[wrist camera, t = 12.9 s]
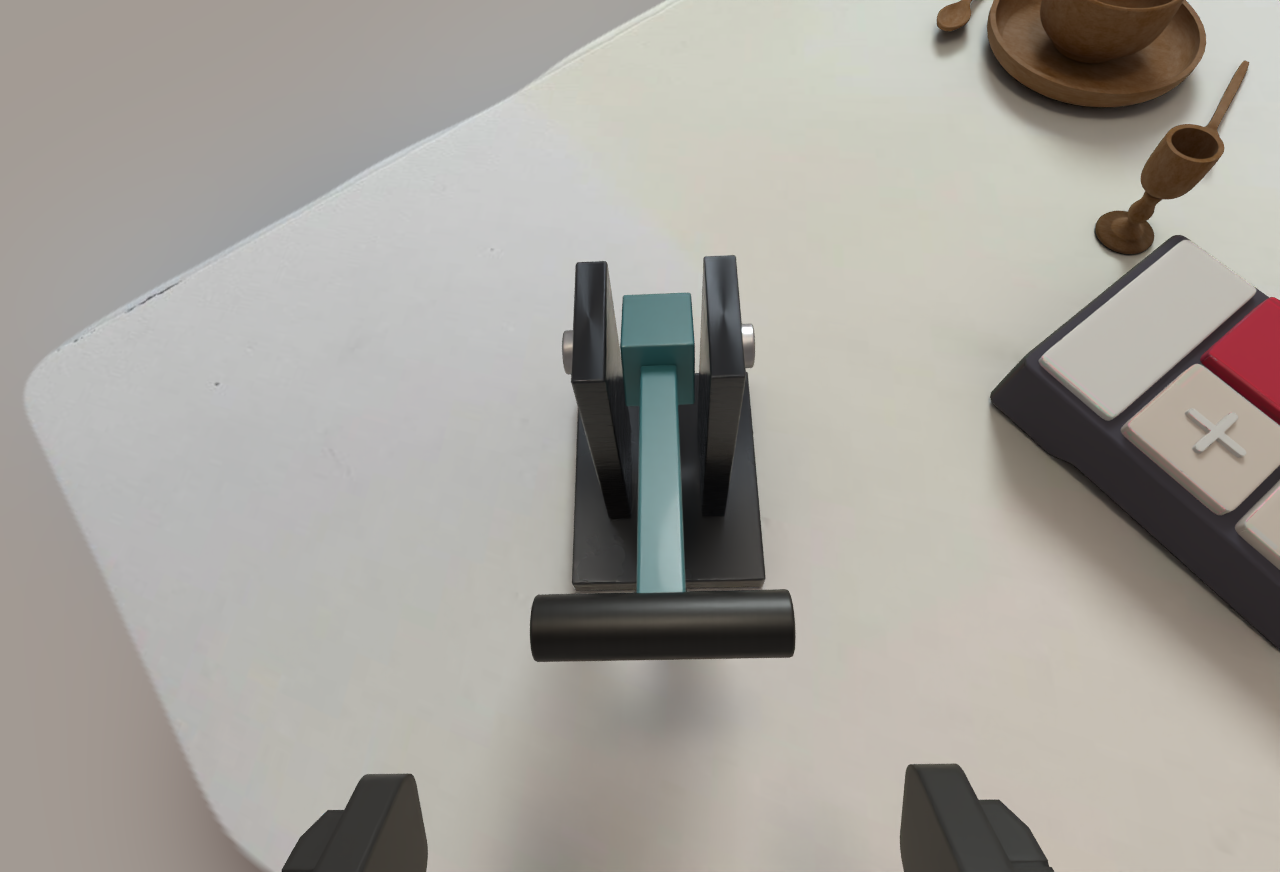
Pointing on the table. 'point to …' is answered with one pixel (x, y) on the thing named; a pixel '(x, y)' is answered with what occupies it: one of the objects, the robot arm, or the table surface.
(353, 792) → the robot arm
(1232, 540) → the calculator
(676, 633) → the lever
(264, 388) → the table surface
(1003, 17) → the place setting
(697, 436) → the bracket
